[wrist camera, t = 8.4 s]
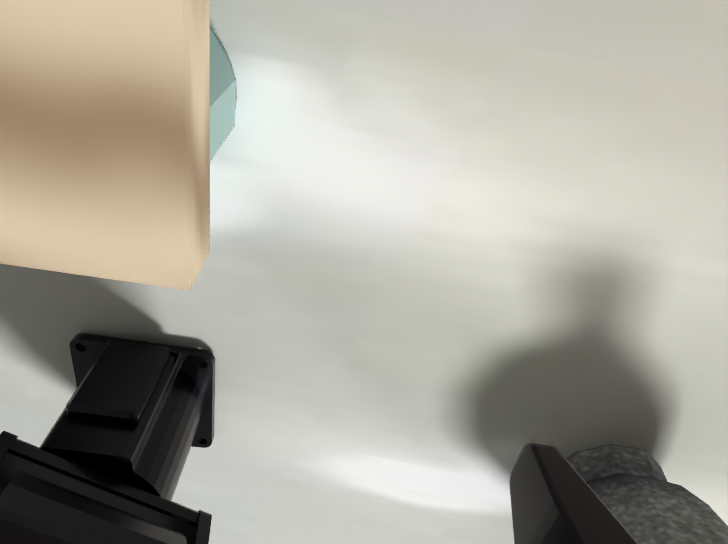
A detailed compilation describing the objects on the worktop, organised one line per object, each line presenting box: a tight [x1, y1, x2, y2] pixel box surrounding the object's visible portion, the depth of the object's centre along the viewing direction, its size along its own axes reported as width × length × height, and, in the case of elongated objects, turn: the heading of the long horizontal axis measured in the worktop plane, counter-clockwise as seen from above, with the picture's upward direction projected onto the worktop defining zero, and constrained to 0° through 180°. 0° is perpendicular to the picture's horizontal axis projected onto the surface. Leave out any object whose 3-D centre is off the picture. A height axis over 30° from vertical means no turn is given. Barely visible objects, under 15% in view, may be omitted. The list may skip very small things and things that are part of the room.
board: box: [0, 0, 210, 290], centre depth 14 cm, size 8×6×2 cm
